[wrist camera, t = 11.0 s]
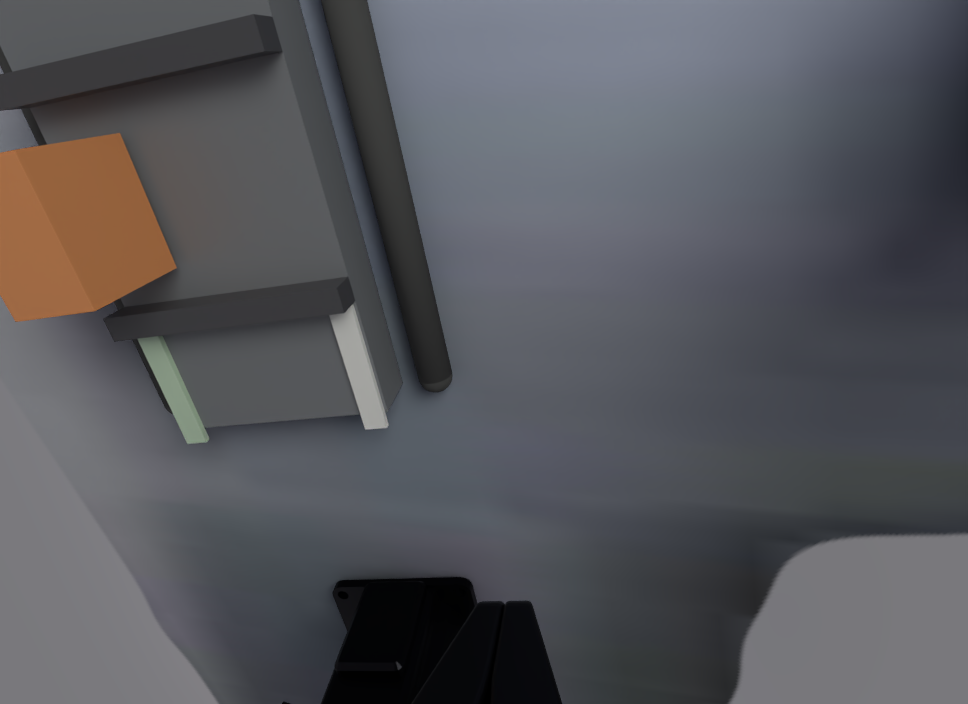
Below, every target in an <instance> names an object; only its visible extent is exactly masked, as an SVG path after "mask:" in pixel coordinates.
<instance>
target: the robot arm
mask: <svg viewBox="0 0 968 704" xmlns="http://www.w3.org/2000/svg"><path fill="white" fill-rule="evenodd" d="M462 589H463V590H462ZM333 597H334V599H335V602H336V604H337V607H338V609H339V612H340V614H341V617H342V619H343V621H344V624H345V626H346V629H347V634H346V636H345V639H344V642H343V644H342V647H341V649H340V652H339V654H338V657H337V660H336V662H335V669H334V671H333V674H332V676H331V679H330V681H329V684H328V687H327V689H326V692H325V694H324V697H323V700H322V702H321V704H562V702H561V698H560V695H559V692H558V688H557V685H556V682H555V678H554V675H553V672H552V668H551V665H550V662H549V658H548V655H547V652H546V649H545V645H544V642H543V639H542V635H541V632H540V629H539V625H538V622H537V619H536V615H535V612H534V609H533V606H532V603H531V602H530V601H508V602H506V604H504V603H503V602H501V601H483V602H480V603H478V604H477V600H476V596H475V593H474V589H473V585H472V583H471V582H470V581H469V580H468V579H466V578H461V577H450V578H412V579H374V580H342V581H339V582H337V584H336V586H335V588H334V590H333ZM282 704H290V703H287V702H284V701H283V703H282Z"/></svg>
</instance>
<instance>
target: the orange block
mask: <svg viewBox="0 0 968 704" xmlns="http://www.w3.org/2000/svg"><path fill="white" fill-rule="evenodd" d="M176 268H177V267H176V265H175V262H174V260H173V257H172V255H171V253H170V250H169V248H168V246H167V243H166V241H165V238H164V236H163V234H162V231H161V229H160V227H159V224H158V222H157V220H156V217H155V215H154V212H153V210H152V208H151V205H150V203H149V201H148V198H147V196H146V193H145V191H144V189H143V186H142V184H141V182H140V179H139V177H138V174H137V172H136V170H135V167H134V165H133V163H132V160H131V158H130V155H129V153H128V151H127V148H126V146H125V144H124V141H123V139H122V136H121V134H120V133H116V134H110V135H103V136H97V137H91V138H85V139H79V140H73V141H66V142H60V143H54V144H48V145H42V146H36V147H29V148H23V149H17V150H12V151H7V152H2V153H0V295H1V297H2V299H3V300H4V302H5V304H6V306H7V308H8V309H9V311H10V313H11V315H12V316H13V318H14V320H15V322H19V321H26V320H34V319H41V318H48V317H56V316H63V315H71V314H78V313H85V312H93V311H96V310H98V309H100V308H102V307H104V306H106V305H108V304H110V303H112V302H113V301H115V300H117V299H119V298H121V297H123V296H125V295H127V294H129V293H130V292H132V291H134V290H136V289H138V288H140V287H142V286H144V285H145V284H147V283H149V282H151V281H153V280H155V279H157V278H159V277H161V276H162V275H164V274H166V273H168V272H170V271H172V270H174V269H176Z"/></svg>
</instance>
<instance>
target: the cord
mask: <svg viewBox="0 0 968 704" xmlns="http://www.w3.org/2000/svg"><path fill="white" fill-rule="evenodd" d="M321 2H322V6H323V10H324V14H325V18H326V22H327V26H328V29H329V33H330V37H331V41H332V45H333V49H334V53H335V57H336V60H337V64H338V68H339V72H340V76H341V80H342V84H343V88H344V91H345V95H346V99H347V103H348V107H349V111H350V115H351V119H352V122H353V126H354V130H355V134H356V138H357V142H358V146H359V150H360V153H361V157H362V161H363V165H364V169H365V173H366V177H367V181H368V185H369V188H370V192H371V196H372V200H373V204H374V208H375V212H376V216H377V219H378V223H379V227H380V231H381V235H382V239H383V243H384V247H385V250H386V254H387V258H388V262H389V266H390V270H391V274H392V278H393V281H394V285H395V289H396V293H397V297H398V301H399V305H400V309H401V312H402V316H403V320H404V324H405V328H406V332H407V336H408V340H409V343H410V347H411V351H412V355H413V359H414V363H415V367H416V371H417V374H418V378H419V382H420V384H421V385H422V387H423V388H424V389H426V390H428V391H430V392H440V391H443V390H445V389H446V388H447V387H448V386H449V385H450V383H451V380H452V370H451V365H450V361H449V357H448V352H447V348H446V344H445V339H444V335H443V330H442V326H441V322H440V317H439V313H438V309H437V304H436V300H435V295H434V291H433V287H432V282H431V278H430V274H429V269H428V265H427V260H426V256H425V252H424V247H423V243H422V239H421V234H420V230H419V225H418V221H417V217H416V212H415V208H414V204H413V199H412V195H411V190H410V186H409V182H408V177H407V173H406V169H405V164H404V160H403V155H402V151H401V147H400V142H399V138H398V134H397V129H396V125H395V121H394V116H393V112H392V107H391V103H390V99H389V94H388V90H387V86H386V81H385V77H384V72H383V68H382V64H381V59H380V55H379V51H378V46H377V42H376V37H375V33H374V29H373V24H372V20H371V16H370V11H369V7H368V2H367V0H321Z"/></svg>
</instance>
